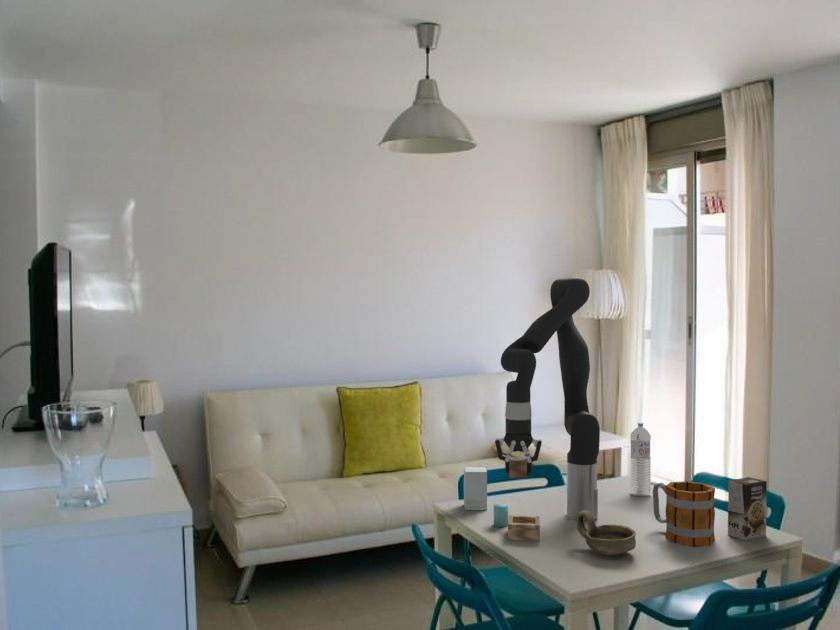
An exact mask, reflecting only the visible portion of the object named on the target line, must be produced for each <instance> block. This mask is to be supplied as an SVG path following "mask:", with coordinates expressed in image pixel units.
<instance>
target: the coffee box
mask: <svg viewBox="0 0 840 630" xmlns="http://www.w3.org/2000/svg"><path fill="white" fill-rule="evenodd" d="M767 484H768V481H767V480H763V479H760V478H753V477H750V476H749V477H741V478H736V479H735V478H734V479H729V480H728V495H727V497H728V499H727V500H728V503H727V535H728V536H731V537H734V538H737V539H740V540H741V541H748V540H753V539H758V538H762V537H767V499H768V498H767V497H768V494H767V493H768V492H767V488H768V485H767Z"/></svg>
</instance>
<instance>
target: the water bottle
mask: <svg viewBox="0 0 840 630" xmlns="http://www.w3.org/2000/svg"><path fill="white" fill-rule="evenodd" d="M651 437H652V436H651V433H650V432H649V431H648V430H647V429H646V428H645V427H644V423H643V422H637V427H636V428H635V429H633V430H632V431H631V432H630V457H629V458H630V459H629V461H630V465H629V466H630V468H629V470H630V471H629V472H630V474H629V477H630V478H629V485H630V486H629V492H630V494H631V495H632V496H635V497H649V496H651V487H652V486H651V484H652V483H651V478H652V477H651V473H652V472H651V470H652V469H651V468H652V467H651V466H652V465H651V459H652V458H651V440H652V438H651Z"/></svg>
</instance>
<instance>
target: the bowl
mask: <svg viewBox="0 0 840 630" xmlns="http://www.w3.org/2000/svg"><path fill="white" fill-rule="evenodd" d="M584 517H585V518H586V520H583V518H584ZM585 521H587V528H586V526H585ZM575 525H576V528H577V530H578V532H579V534H580V535H581V536H582V537H583V538H584V539H585V542H586V544H587V546H588V547H589V548H590V550H592V551H593V552H595V553H597V554H600V555H604V556H619V555H622V554H625V553H627V552H630V551H632V550H634V549H635V548H636V545H637V541H636V536H637V535H636V534H637V532H636V531H635V530H634V529H632V528H631V527H630V526H627V525H622V524H616V523H615V524H614V523H611V524H601V525H596V522H595V519H594V518H593V516H592V514H591V513H590V512H589V511H586V510H585V511H581V512H579V513H578V514H577V516H576V519H575Z"/></svg>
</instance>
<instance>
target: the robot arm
mask: <svg viewBox="0 0 840 630" xmlns="http://www.w3.org/2000/svg"><path fill="white" fill-rule="evenodd" d="M590 290H591V289H590V286H589V283H588V282H587V280H586V279H584V278H582V277H577V276H576V277H575V276H574V277H566V278H557V279H555V280H553V282H552V283H551V285H550V291H549V292H550V303H551V307H552V308H550V309H549V310H547V311H546V312H545V313H543V314H542V315H540V316H538V318H536V319H535V320H534V321H533V322H532V323H531V324H530V325H529V326H528V328H527V329H526V331H525V332H524V333H523V335H522V336H521V337H519V338H518V339H517V338H516V339H515V341H513V342H512V343H511V344H509V345H508V346H507V347H506V348H505V349H504V351H503V352H502V354H501V357H500V365H501V367H502V369H503V370H505V371H506V372H509V373H517V374H516V375H517V376H516V378H515V380H511V381H508V382H507V384H506V389H505V391H506V394H505V396H506V398H505V399H506V400H505V401H506V402H505V413H504V417H505V435H504V436H503V437H501V438H496V439H495V440H494V443H495V444H494V445H495V448H496V452H497V455H498V459H499V460H500V461H503V462H504V465H505V469H504V471H505V473H507V475H508V476H509V460H510V457H512V453H513V452H514V453H515V452H520V453H523V454H524V457H526V459H527V476H530V474H532V470H533V462H537V461H538V460H539V455H540V452H541V448H542V443H543V442H542V440H541V439H536V438H534V437H533V435H532V405H531V387H532V384H533V380H534V376H535V372H536V368H537V358H536V355H535V354H538V353H540V352H541V351H543V349H544V347H545V346H546V345H547V344H548V342H549V341H550V340H551V338H552V337H553V335H555V333H556V336H557V345H558V346H557V347H558V357H559V358H558V360H559V369H560V374H561V376H560V377H561V382H562V390H563V398H564V402H563V403H564V409H563V410H564V411H563V412H564V414H563V416H564V417H563V419H564V422H563V423H564V425H563V426H564V428H565V431H566V432H567V434H568V435H569V436H570V448H569V451H568V452H567V454H566V516H567V517H568V518H570V519H573V520H576V516H577V514H578V513H579V512H581V511H585V510H586V511H589V512H590V513H591V514H592V516H593V518H594V520H598V518H599V515H598V514H599V511H598V510H599V507H598V505H599V504H598V503H599V502H598V501H599V499H598V498H599V497H598V496H599V493H598V492H599V489H598V457H599V453H600V440H601V437H600V435H601V433H600V431H601V430H600V429H601V427H600V423H599V420H598V418H597V417H596V416H595V415H593V414H592V413H591V412H590V409H589V403H588V397H587V396H588V393H587V392H588V384H589V379H590V371H591V370H590V369H591V365H590V353H589V347H588V345H587V343H586V341H585V339H584V337H583V335H581V332H580V331H579V330H578V328H577V326H576V324H575V322H574V319H573V315H575V314H576V312H578V311H579V310H580V309H581V308H582V307H583V306H584V305H585V304H586V303H587V301H588V300H589V297H590ZM504 444H506V446H507V448H508V450H507V453H506V455H504V452H503V449H502V447H503V445H504ZM531 444H533V447H534V448H535V450H534V455H533V456H531V455H532V454H531V453H530V449H529V447H530V446H531ZM583 521H587V520H586V518H585V517H584V518H583Z"/></svg>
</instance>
